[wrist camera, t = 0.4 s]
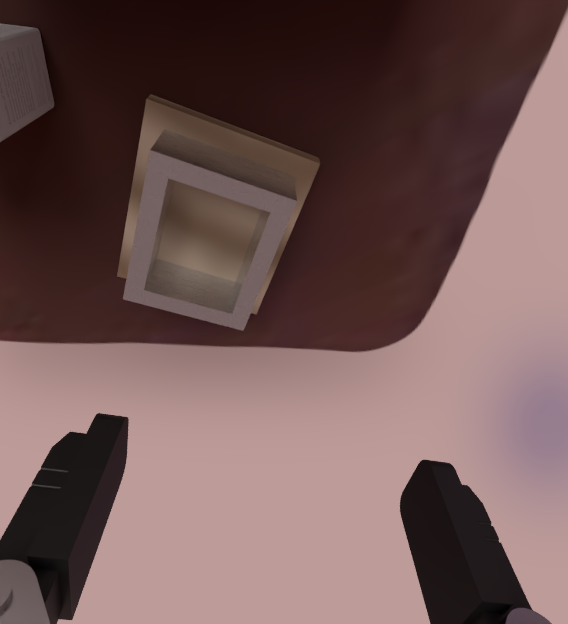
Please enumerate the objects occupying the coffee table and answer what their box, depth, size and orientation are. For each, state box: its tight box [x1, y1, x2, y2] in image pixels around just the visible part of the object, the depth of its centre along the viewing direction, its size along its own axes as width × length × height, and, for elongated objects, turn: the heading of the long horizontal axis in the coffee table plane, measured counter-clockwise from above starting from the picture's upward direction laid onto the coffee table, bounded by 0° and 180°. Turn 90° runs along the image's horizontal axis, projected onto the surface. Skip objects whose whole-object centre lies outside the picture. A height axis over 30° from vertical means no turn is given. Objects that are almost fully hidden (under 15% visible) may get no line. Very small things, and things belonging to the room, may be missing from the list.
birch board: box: [117, 94, 320, 314], centre depth 30 cm, size 13×11×1 cm
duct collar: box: [123, 129, 297, 331], centre depth 28 cm, size 10×8×4 cm
